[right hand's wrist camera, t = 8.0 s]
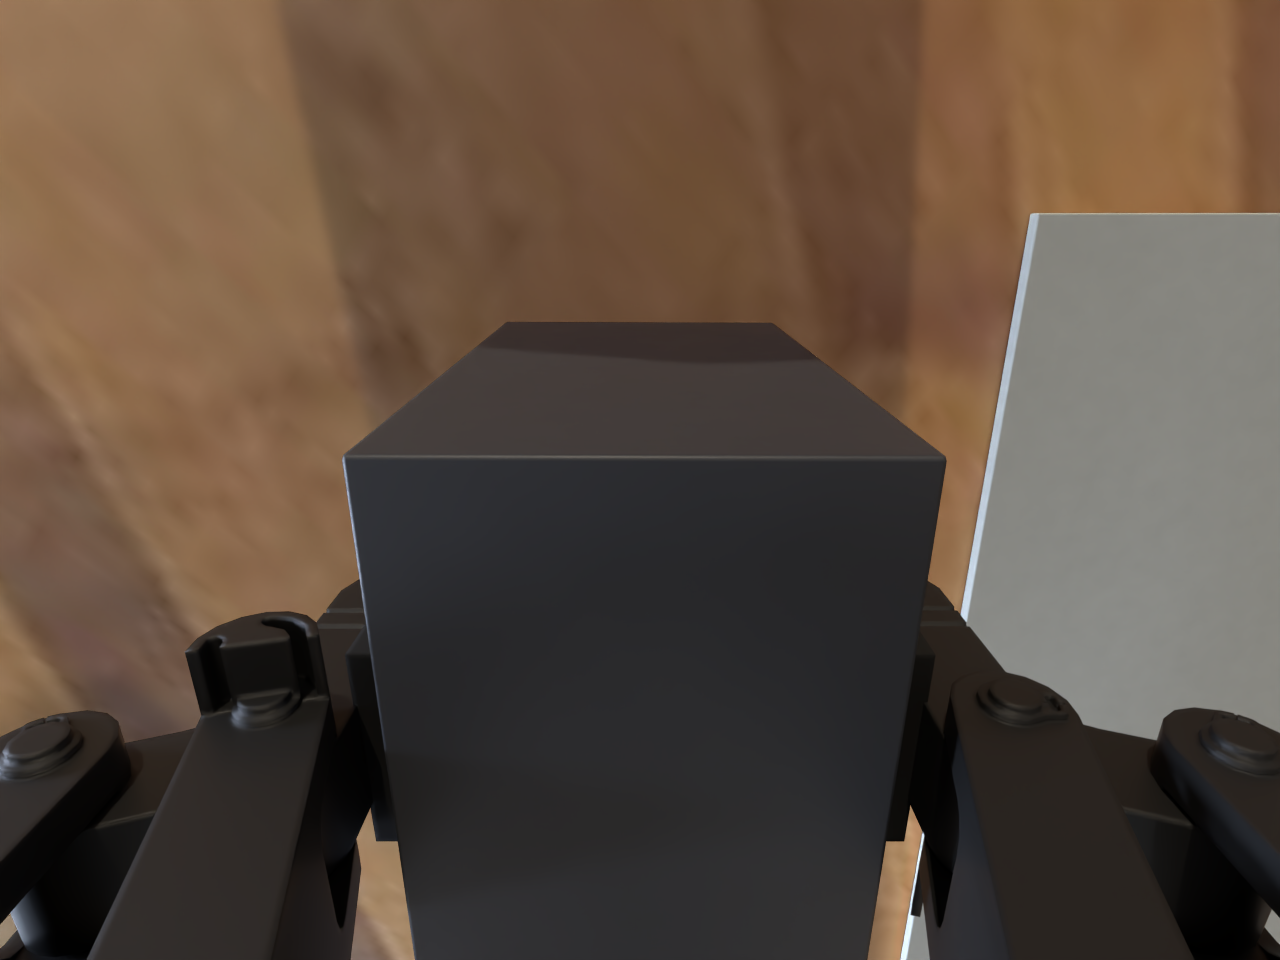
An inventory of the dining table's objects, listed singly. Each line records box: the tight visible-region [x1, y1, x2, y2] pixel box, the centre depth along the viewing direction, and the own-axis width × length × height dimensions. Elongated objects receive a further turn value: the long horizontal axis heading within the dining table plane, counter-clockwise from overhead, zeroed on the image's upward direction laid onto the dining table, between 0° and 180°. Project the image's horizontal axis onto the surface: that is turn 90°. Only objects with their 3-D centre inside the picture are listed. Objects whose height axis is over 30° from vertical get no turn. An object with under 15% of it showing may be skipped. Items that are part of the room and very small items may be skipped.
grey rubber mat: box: [901, 213, 1280, 960], centre depth 23 cm, size 18×36×1 cm, turn 0°
